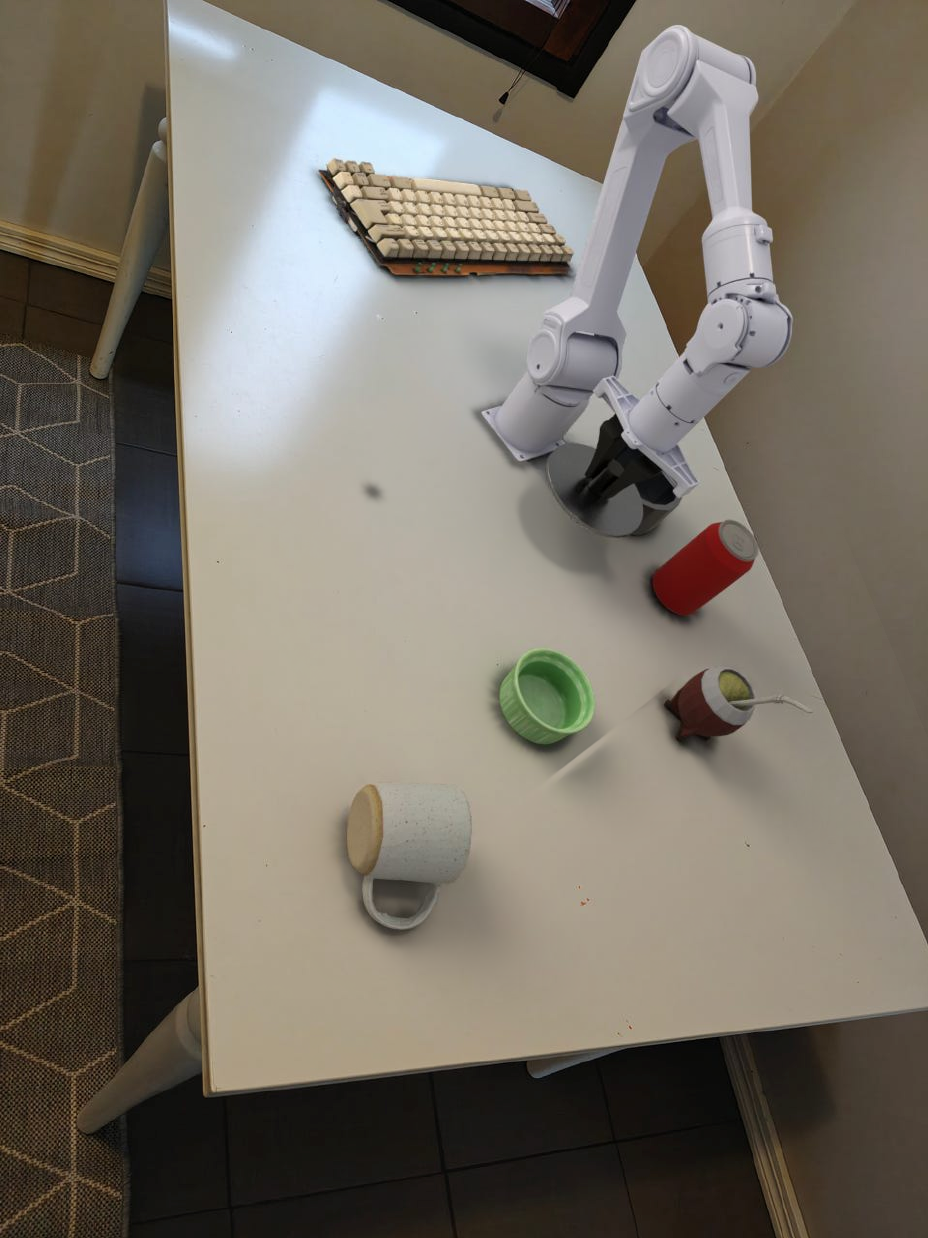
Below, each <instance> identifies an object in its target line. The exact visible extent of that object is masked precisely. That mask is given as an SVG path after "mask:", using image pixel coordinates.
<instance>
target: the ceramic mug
mask: <svg viewBox="0 0 928 1238" xmlns="http://www.w3.org/2000/svg"><path fill="white" fill-rule="evenodd" d="M346 829H347V831H346V832H347V833H346V844H347V846H346V847H347V854H348V857H349V861H350V864H351V865H352V867H353V869H354V870H355V871H356V872H357V874H360V875H361V876H363V882H362V886H361V887H362V896H363V903H364V906H365V909H366V911H367V913H368V915H369V916H370V917H371V918H372V919H373V920H374V921H376V922H377V923H379V924H380V925H382V926H384V927H385V928H389V929H392V930H401V931H402V930H403V931H404V930H409V929H414V928H415V927H418V925H420V924H421V923H423V921H424V920H425V919H427V917H428V916H429V915H430V914H431V912H432V910H433V908H434V907H435V904H436V902H437V899H438V896H439V892H440V890H441V885H443V884H445V885H448V884H453V883H455V882H456V881H457V880H458V879H459V878H460V877H461V875H462V874H463V872H464V870H465V868H466V866H467V863H468V860H469V856H470V852H471V845H472V836H473V822H472V812H471V807H470V802H469V801H468V797H467V795H466V793H465V792H464V790H463V789H462V788H461V787H460V786H458V785H455V784H442V783H441V784H437V783H413V782H412V783H409V782H408V783H403V782H386V781H385V782H382V781H381V782H376V783H375V782H374V783H373V782H372V783H367V784H366V785H364V786H362V787H361V788H360V789H359V790H358V791H357V793H356V794H355V796H354V798H353V799H352V802H351V805H350V809H349V813H348V818H347V828H346ZM374 880H390V881H408V882H415V883H428V884H429V888H428V890H427V893H426V896H425V899H424V901H423V903H422V905H421V906H420V908H419V909H418V910H417V912H416V913H415V914H414V915H412V916H409V917H406V918H405V917H397V916H391V915H389V914H388V913H386V912H380V911H378V909H377V908H376V905H375V903H374V895H373V888H374V884H373V883H374Z"/></svg>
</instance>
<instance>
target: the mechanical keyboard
mask: <svg viewBox="0 0 928 1238" xmlns="http://www.w3.org/2000/svg"><path fill="white" fill-rule="evenodd" d="M325 166H326V169H318V170H317V172H318V173H319V175H320V176H321V178H322V179H323V180H324V182H325V183H326V185H327V187H328V188H329V190H330V191H331V193H332V197H331V199H332V201H333V202H334V204H335V205H336V206H337V207H336V210H337V211H340V213H341V215H342V218H343V221H344V222H347V223H348V225H349V227H350V229H351V230H352V232H357V233H358V234H359V235H360V237H361V238H362V240H363V242H364V243H365V246H366V247H367V248H368V250H370V253H371V254H372V255H373V257H374V258H375V261H376V262H377V263H378V265H379V266H384V267H387V268H388V269H389V270H390V272H391V273H392V274H393V275H397V276H398V275H403V276H404V275H405V276H407V275H408V276H470V273H476V276H478V277H479V276H482V275H497V274H518V275H530V276H536V275H547V276H549V275H556V276H562V275H569V272H568V269H570V268H571V266H570V264H569V262H571V261H572V259H573V256H574V254H575V252H574V250H573V248H572V247H570V245H566V242H567V241H566V239H565V238H564V237H563V235H561V234H557V230H556V229H555V227H554V225H552V224H551V223H548V222H549V221H548V219H547V217H546V215H545V214H544V213H540V208H539V206H538V203H537V202H535V201H532V197H531V194H530V192H529V191H528V190H525V189H517V188H516V189H514V188H511V187H498V188H496V187H494V186H492V185H491V186H489V185H478V184H475V183H467V182H459V181H451V180H443V179H440V180H439V179H433V178H421V177H412V178H409V177H407V176H399V175H391V176H389V175H385V174H376V173H375V172H376V171H375V169H374V166H373V164H372V163H371V162H370V161H364V160H362V161H361V162H360V163H359V164H358V162H357V161H356V160H351V159H347V160H345V162H344V160H343V159H340V158H336V157H333V158H332V159H330V160H329V162H328V163H326V164H325Z"/></svg>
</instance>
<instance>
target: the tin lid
mask: <svg viewBox="0 0 928 1238" xmlns="http://www.w3.org/2000/svg"><path fill="white" fill-rule="evenodd" d="M595 451H596V447H593V446H590V445H588V444H583V443H578V442H567V443H565V444H563V445H561V446H559V447H557V448H556V449H555V450H554V451H552V452H550V454H549V456H548V458H547V460H546V464H545V476H546V477H545V478H546V481H547V484H548V487H549V489H550V492H551V493H552V496H553V497H554V499H555V500H556V502H557V503H558V505H559V506H560V507H561V509H562V510H563V511H564V512H565V513H566V514H567V515H568V516H569V518H571V519H572V520H573V521H574V522H575V523H577V524H579V525H580V526H581V527H583V528H584V529H586V530H588V531H589V532H592V533H594V534H596V535H599V536H602V537H605V538H611V539H620V538H625V537H629V536H631V535H630V534H631V533H633V532H634V531H635V530H636V529H637V528H638V527H639V525H640V524H641V521H642V517H643V505H642V500H641V497H640V494H639V492H638V490H637V488H636V486H635V484H632V485H630V486H628V487H627V488H625V489H623V490H622V491H620V492H619V493H618V494H616V495H615V496H614V497H612V498H609V499H607V500H604V499H603V498H602V497H601V494H602V493H603V492H604V491H605V490H606V489H607V488H608V487H609V486H610V485H611V484H612V483H614V482H615V481H616V480H617V479H618V477H619V476H620V475H621V474H622V472H623V471H624V469H623V467H622V466H621V465H620V464H619V463H618V462H616V461H614V460H608V461H606V463H605V464H604V465H603V466H602V467H601V468H600V469H599V470H598V471H597V472H596V473H595V474H594V476H593V477H592V478H589V479H587V477H586V476H585V472H586V471H587V469H588V467H589V465H590V463H591V461H592V459H593V456H594V454H595Z"/></svg>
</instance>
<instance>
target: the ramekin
mask: <svg viewBox="0 0 928 1238" xmlns="http://www.w3.org/2000/svg"><path fill="white" fill-rule="evenodd" d="M499 704H500V708H501V711H502V714H503V717H504V718H505V719H506V721H507V724H508V725H510V727H511V728H512V729H513V730H514V731H515V732H516V733H517V734H518V735H519V736H520V737H522V738H524V739H526V740H527V741H529V742H532V743H534V744H539V745H550V744H551V745H552V744H554V743H557V742H559V741H561V740H562V739H564V738H566V737H567V736H570V735H574V734H576V733H579V732H581V731H583V730H584V729H585V728H587V726H588V725H589V724H590V723H591V721H592V719H593V717H594V714H595V709H596V699H595V693H594V689H593V686H592V683H591V682H590V680H589V678H588V676H587V675H586V673H585V671H584V670H583V669H582V668H581V666H580V665H579V664H578V663H577V662H576V661H575V660H573V659H572V658H570V657H569V656H567V655H566V654H565V653H563V652H560V651H558V650H555V649H552V648H545V647H539V648H534V649H529V651H527V652H525V653H524V654H523V655H522V656H521V657H520V658H519V659H518V660H517V662H516V663H515V665H514V667H513V668H512V669H511V671H510V672H509V673H507V675H506V676H505V677H504V679H503V681H502V683H501V685H500V688H499Z"/></svg>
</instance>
